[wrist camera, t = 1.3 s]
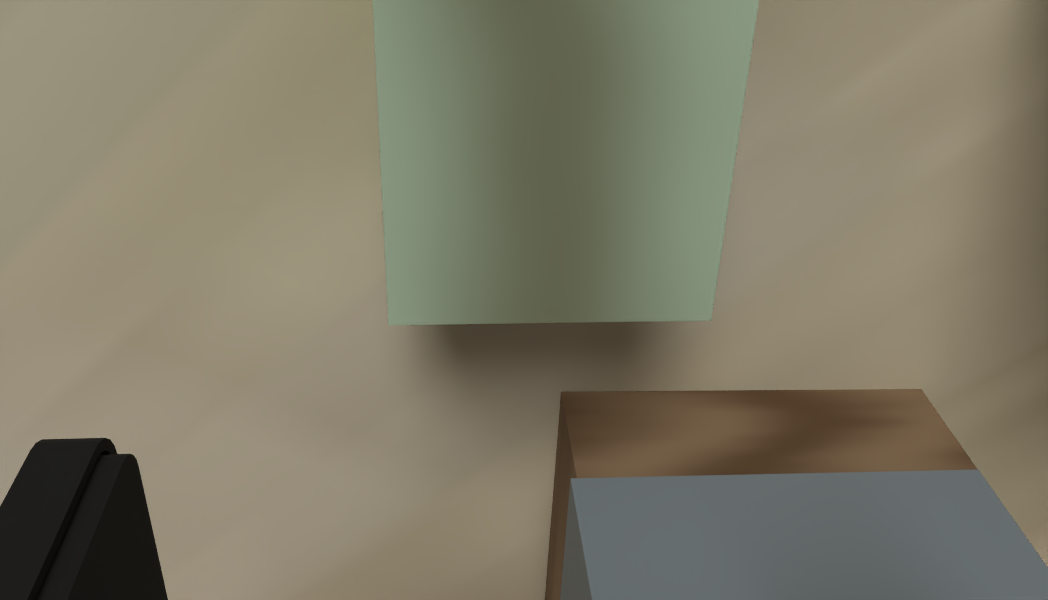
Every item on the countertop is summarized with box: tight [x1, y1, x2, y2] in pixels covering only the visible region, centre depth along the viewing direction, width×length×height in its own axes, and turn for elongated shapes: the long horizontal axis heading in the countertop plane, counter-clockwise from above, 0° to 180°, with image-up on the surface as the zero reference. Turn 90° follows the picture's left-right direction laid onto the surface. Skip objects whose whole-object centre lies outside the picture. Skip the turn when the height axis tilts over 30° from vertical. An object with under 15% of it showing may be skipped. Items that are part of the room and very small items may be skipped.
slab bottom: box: [545, 389, 978, 600], centre depth 28 cm, size 10×10×4 cm
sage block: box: [373, 0, 759, 325], centre depth 19 cm, size 6×6×6 cm
